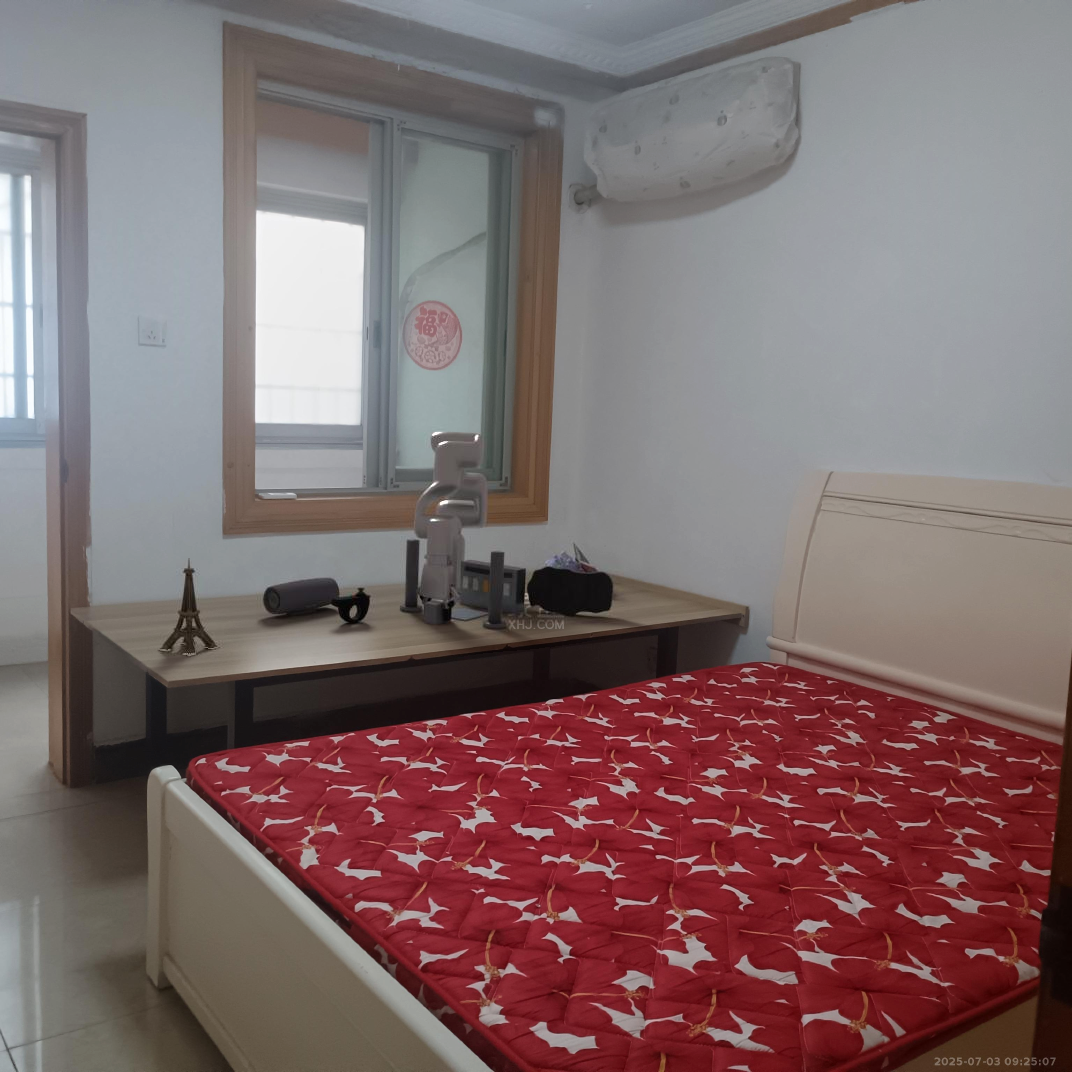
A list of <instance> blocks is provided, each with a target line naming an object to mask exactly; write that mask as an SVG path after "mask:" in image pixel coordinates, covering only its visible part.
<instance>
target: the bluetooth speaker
mask: <svg viewBox="0 0 1072 1072" xmlns="http://www.w3.org/2000/svg"><path fill="white" fill-rule="evenodd" d="M337 597H340V588H339V584H338V582H337V581H336V580H335V579H334V578H332V577H317V578H315V577H314V578H309V579H299V580H293V581H289V582H284V583H279V584H274V585H270V586H268V587H267V588H266V589H265V591H264V593H263V596H262V602H263V603H262V604H263V606H264V609H265V611H267V612H268V613H269V614H270V615H284V614H286V615H287V616H300V615H305V614H309V613H315V612H318V611H317V610H318V608H323V607H325V606H330V605H331V601H332V599H333V598H337Z"/></svg>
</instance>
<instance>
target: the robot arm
mask: <svg viewBox="0 0 1072 1072" xmlns="http://www.w3.org/2000/svg"><path fill="white" fill-rule="evenodd" d="M430 436H431V437H430V445H431V449H432V451H433V452H434V463H433V474H432V475H433V477H432V484H431V485H430V486H429V487H428V488H426V489H425V490H424V491H423V493H422V494H421V495H420V497H419V498H418V500H417V502H416V506H415V511H414V520H413V532H414V535H415V536H416V538H418V539H422V540H426V554H424V559H425V560H426V562H425V563H424V564H423V567H422V572H421V577H420V578H421V579H420V584H419V585H420V586H418V589H417V590H416V592H417V593H418V598H419V599H420V601H421V605H422V606H424V603H426V602H429V601H433V599H434V600H443V603H444V606H445V608H444V609H443V622H445V623H448V622H447V621H449V622H451V620H452V618H451V615H452V610H453V608H454V607H455V605H456V604H457V603H458V602H460V598H461V597H460V577H461V561H466V560H465V557H466V540H465V536H464V535H463V534H462V530H463V529H479V530H480V529H482V528H484V527H485V526H486V524H487V519H488V481H487V479H486V476H485V475H484V474H482V473H480V472H467V471H466V469H469V470H473V469H479V468H480V466H481V464H482V461H483V456H484V453H485V440H484V437H483V435H481V434H480V433H475V432H458V431H436V432H433V433H432V434H431V435H430ZM441 499H445V500H443V501H440V502H439V503H438V504H437V506H436V509H435V510H436V511H435V514H428V513H427V514H426V509H427V508H428V507H429V506H430V505H431V504H433V503H434V502H437V501H439V500H441Z"/></svg>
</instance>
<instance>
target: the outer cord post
mask: <svg viewBox="0 0 1072 1072" xmlns="http://www.w3.org/2000/svg"><path fill="white" fill-rule="evenodd" d="M489 563H490V584H489V608H488V609H487V610H488V612H487V613H488V615H487V619H485V620H483V621H482V628H485V629H489V630H502V629H506V628H507V622H506V621H504V620H502V617H503V616H502V615H503V612H502V598H503V575H504V565H505V552H503V551H501V550H500V551H497V550H496V551H495V550H494V551H490V561H489Z"/></svg>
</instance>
